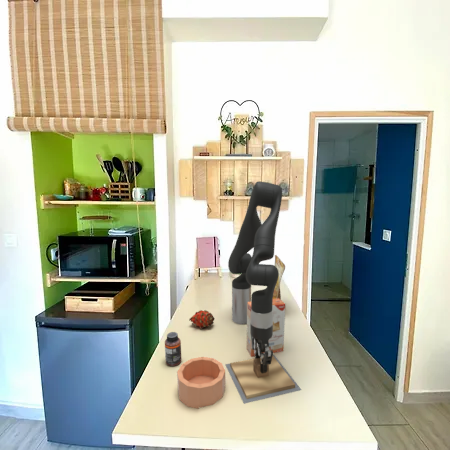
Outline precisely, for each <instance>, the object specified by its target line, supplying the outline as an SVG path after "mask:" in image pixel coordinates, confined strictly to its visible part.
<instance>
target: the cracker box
mask: <svg viewBox="0 0 450 450" xmlns="http://www.w3.org/2000/svg"><path fill="white" fill-rule="evenodd" d="M272 312H273V335H272V337H271V338H270V339H269V340H268V341H269V350H272V351H273V354H274V353H280V352H284V349H285V348H284V347H285V346H284V343H285V324H286V323H285V321H286V320H285V319H286V303H284V301H283V300H282V299H281V300H280V299H279V298H277V299H273V302H272ZM250 316H251V302H247V323H246V350H247V351H246V352H248V354H249V356H250V357H251V358H252V357H255V354H254V350H253V349H252V340H251V334H250ZM262 353H265V352H262Z"/></svg>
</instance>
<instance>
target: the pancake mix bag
mask: <svg viewBox="0 0 450 450" xmlns="http://www.w3.org/2000/svg"><path fill="white" fill-rule="evenodd" d="M274 266H276V268H277V269H278V272H279V277H278V280H277V283H276V286H275V289H274V293H273V299H277V298H279V299H280V300H281V301H282V298H281V297H282V295H281V280H282V278H283V275H284V272H285V269H286V265H285V263H284V262H283V261H282V260H281V258H280V257H279V256H278V255H277V254H274Z"/></svg>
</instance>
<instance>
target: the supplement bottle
mask: <svg viewBox="0 0 450 450" xmlns="http://www.w3.org/2000/svg"><path fill="white" fill-rule="evenodd" d="M181 344H182V342H181V339H180V337H179V335H178V333H177V332H176V331H171V332H169V333H167V334H166V339H165V341H164V355H165V364H166V365H167V366H168V367H177V366H178V365H180V364H181V362H182V345H181Z"/></svg>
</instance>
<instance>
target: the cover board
mask: <svg viewBox="0 0 450 450" xmlns="http://www.w3.org/2000/svg"><path fill="white" fill-rule="evenodd" d="M263 358H264V357H263ZM229 364H230V367H231V369H232V371H233V373H234V375H235V377H236V379H237V381H238V383H239V385H240V387H241V389H242V391H243V393H244V395H245V397H246V399H249V398H253V397H258V396H262V395H266V394H270V393H275V392H279V391H283V390H287V389H292V388H295V383H294V382H293V381H292V379H291V378H290V377H289V376H288V374H287V373H286V372H285V370H284V369H283V368H282V367H281V365H280V364H279V363H278V361H277V360H276V359H275V358H274V356H272V361H271V364H268V365H267V372H266V373H261V372H260V358H256V359H255V357H254V358H250V359H249V358H248V359H245V360H244V359H243V360H240V361H239V360H238V361H234V362H230V363H229Z"/></svg>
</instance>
